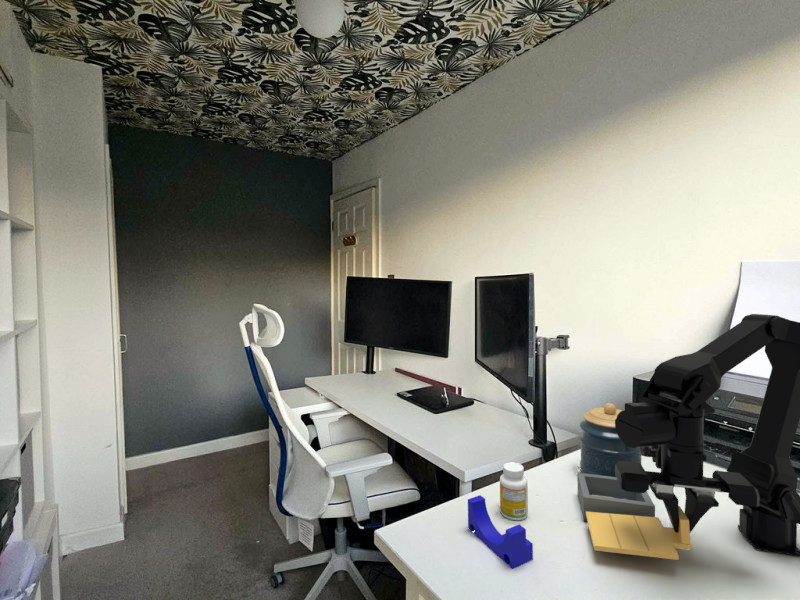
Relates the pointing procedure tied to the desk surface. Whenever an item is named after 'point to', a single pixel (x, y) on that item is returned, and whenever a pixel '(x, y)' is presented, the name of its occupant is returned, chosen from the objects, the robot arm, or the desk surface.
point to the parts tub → (611, 497)
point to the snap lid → (638, 535)
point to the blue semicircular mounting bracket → (499, 535)
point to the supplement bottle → (513, 492)
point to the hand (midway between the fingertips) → (681, 531)
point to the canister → (603, 443)
